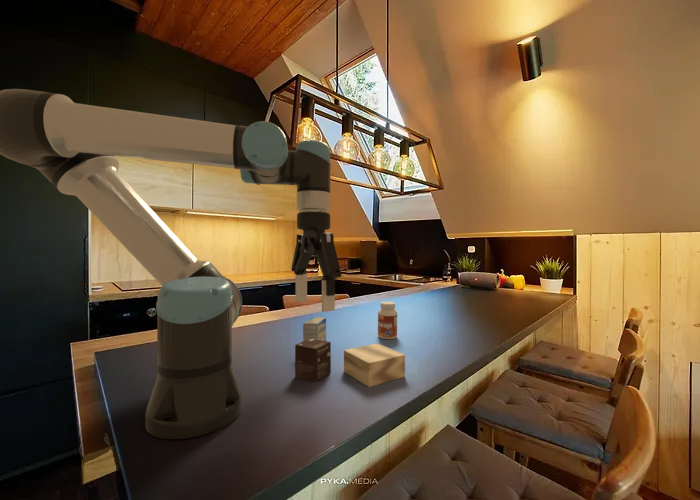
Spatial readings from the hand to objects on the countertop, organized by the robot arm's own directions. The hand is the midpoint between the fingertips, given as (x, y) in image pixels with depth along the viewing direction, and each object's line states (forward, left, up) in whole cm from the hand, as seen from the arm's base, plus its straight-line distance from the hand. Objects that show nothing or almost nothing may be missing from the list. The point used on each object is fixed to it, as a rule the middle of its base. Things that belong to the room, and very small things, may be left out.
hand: (313, 305), depth 75 cm
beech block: (+12, -7, -16) cm, 21 cm away
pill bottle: (+34, +15, -16) cm, 40 cm away
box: (0, 0, -16) cm, 16 cm away
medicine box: (+8, +15, -16) cm, 23 cm away
